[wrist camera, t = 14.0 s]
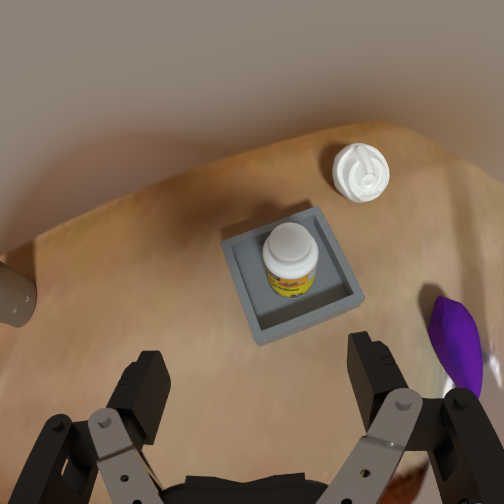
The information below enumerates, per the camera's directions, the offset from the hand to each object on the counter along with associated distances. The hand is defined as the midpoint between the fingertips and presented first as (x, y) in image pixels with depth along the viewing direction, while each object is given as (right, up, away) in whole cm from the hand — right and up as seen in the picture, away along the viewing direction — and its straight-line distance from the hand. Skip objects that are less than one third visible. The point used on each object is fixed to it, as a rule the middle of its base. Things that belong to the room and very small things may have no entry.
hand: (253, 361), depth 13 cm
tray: (+5, +1, +26) cm, 27 cm away
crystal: (+25, -8, +20) cm, 33 cm away
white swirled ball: (+15, +14, +31) cm, 37 cm away
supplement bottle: (+5, +1, +26) cm, 26 cm away
